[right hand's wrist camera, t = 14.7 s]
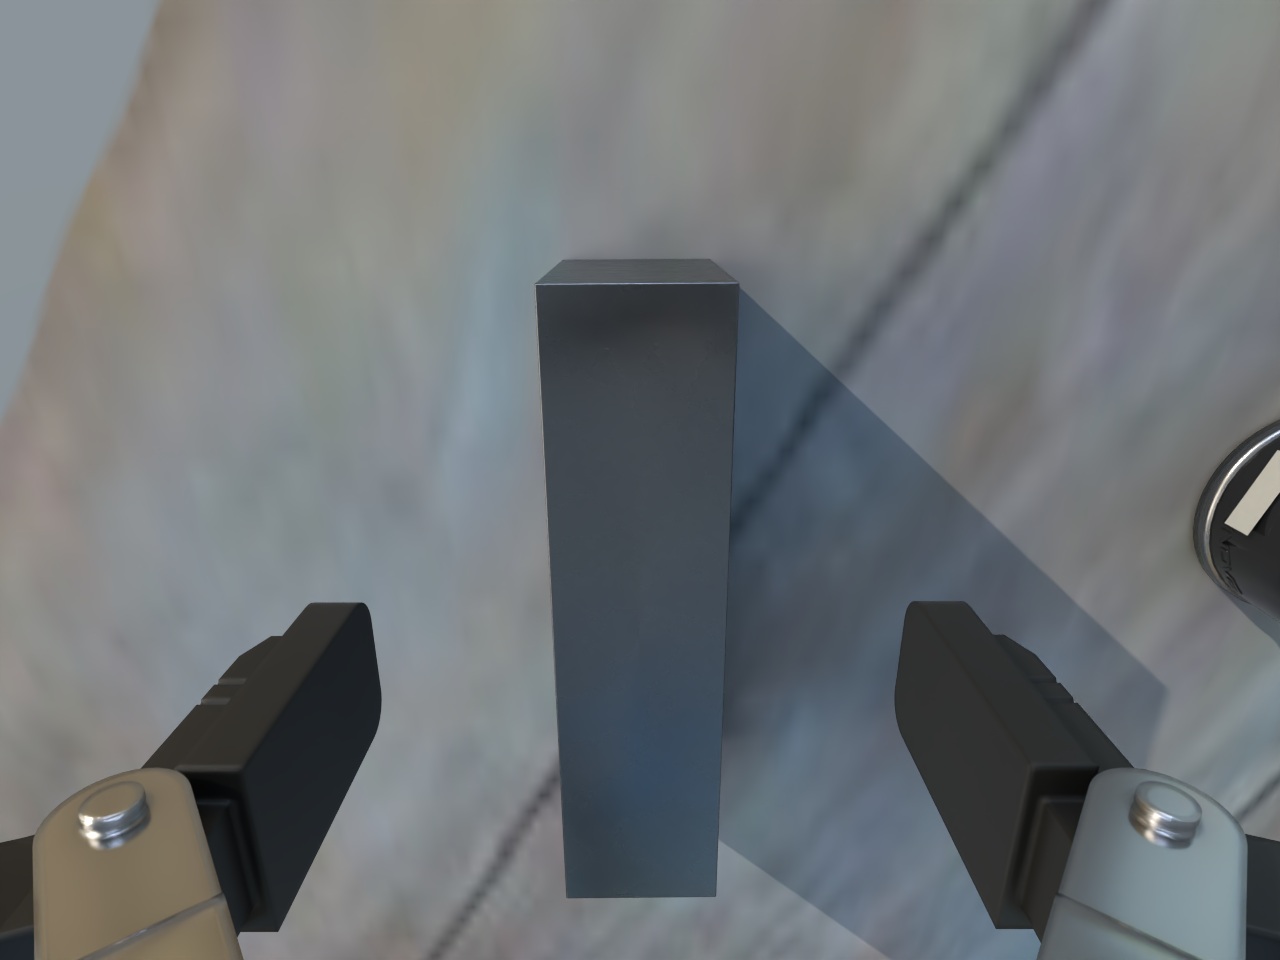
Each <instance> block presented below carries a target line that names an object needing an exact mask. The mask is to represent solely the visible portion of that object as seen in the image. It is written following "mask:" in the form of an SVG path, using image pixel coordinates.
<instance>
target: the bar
mask: <svg viewBox="0 0 1280 960" xmlns="http://www.w3.org/2000/svg"><path fill="white" fill-rule="evenodd" d="M534 288H535V307H536V326H537V345H538V364H539V383H540V402H541V421H542V440H543V460H544V479H545V498H546V517H547V536H548V555H549V574H550V593H551V612H552V631H553V650H554V669H555V688H556V708H557V727H558V746H559V765H560V784H561V803H562V822H563V841H564V860H565V879H566V897H567V898H639V897H715V896H716V884H717V857H718V831H719V805H720V778H721V752H722V726H723V699H724V673H725V647H726V620H727V594H728V567H729V541H730V515H731V488H732V462H733V436H734V409H735V383H736V357H737V330H738V304H739V282H737V281H736V280H735V279H734V278H733V277H731V276H730V275H729V274H728V273H726V272H725V271H724V270H723V269H721V268H720V267H719V266H718V265H716V264H715V263H714V262H713V261H712V260H710V259H634V260H562V261H561V262H560V263H559V264H558V265H556V266H555V267H554V268H553V269H552V270H551V271H549V272H548V273H547V274H546V275H545V276H544V277H542V278H541V279H540V280H539V281H538V282H537V283H535V285H534Z"/></svg>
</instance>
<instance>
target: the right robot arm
mask: <svg viewBox="0 0 1280 960" xmlns="http://www.w3.org/2000/svg"><path fill="white" fill-rule="evenodd" d="M1193 539H1194V546H1195V550H1196V554H1197V557H1198V559H1199V562H1200V564H1201V566H1202V567H1203V569H1204V570H1205V572H1206V573H1207V575H1208V576H1209V577H1210V578H1211V579H1212V580H1213V581H1214V582H1215V583H1217V584H1218V585H1219V586H1220V587H1222V588H1223V589H1225V590H1226V591H1228V592H1229V593H1231V594H1232V595H1234V596H1236V597H1237V598H1239V599H1240V600H1242V601H1244V602H1247V603H1249V604H1252V605H1253V606H1255V607H1256V608H1258V609H1259V610H1261V611H1263V612H1264V613H1266V614H1267V615H1269V616H1270V617H1272V618H1273V619H1275V620H1276V621H1278V622H1279V623H1280V420H1279V421H1276V422H1274V423H1272V424H1270V425H1268V426H1266V427H1265V428H1263V429H1261V430H1260V431H1258V432H1256V433H1255V434H1253V435H1252V436H1251V437H1249V438H1248V439H1246V440H1245V441H1244V442H1243V443H1241V444H1240V445H1239V446H1238V447H1237V448H1236V449H1235V450H1234V451H1232V452H1231V453H1230V454H1229V455H1228V456H1227V458H1226V459H1225V460H1224V461H1223V462H1222V463H1221V464H1220V466H1219V467H1218V468H1217V470H1216V471H1215V472H1214V474H1213V475H1212V477H1211V478H1210V480H1209V481H1208V483H1207V485H1206V487H1205V489H1204V491H1203V493H1202V495H1201V498H1200V500H1199V503H1198V506H1197V509H1196V513H1195V518H1194V526H1193ZM895 712H896V718H897V723H898V727H899V730H900V733H901V735H902V737H903V739H904V741H905V744H906V746H907V748H908V750H909V752H910V754H911V756H912V758H913V760H914V762H915V764H916V766H917V768H918V770H919V772H920V774H921V776H922V778H923V780H924V782H925V784H926V787H927V789H928V791H929V793H930V795H931V797H932V799H933V801H934V803H935V805H936V807H937V809H938V811H939V813H940V815H941V817H942V819H943V821H944V823H945V825H946V827H947V830H948V832H949V834H950V836H951V838H952V840H953V842H954V844H955V846H956V848H957V850H958V852H959V854H960V856H961V858H962V860H963V862H964V864H965V866H966V868H967V871H968V873H969V875H970V877H971V879H972V881H973V883H974V885H975V887H976V889H977V891H978V893H979V895H980V897H981V899H982V901H983V903H984V905H985V907H986V909H987V911H988V914H989V916H990V918H991V920H992V922H993V924H994V926H995V928H996V929H1034V931H1035V933H1036V935H1037V936H1038V938H1039V940H1040V942H1041V946H1040V949H1039V953H1038V956H1037V960H1280V842H1279V841H1274V840H1270V839H1265V838H1261V837H1256V836H1252V835H1247V834H1244V831H1243V829H1242V828H1241V826H1240V825H1239V823H1238V822H1237V820H1236V819H1235V818H1234V817H1233V816H1232V815H1231V814H1230V813H1229V812H1228V811H1227V810H1226V809H1225V808H1224V807H1223V806H1222V805H1220V804H1219V803H1218V802H1217V801H1215V800H1214V799H1212V798H1211V797H1210V796H1208V795H1207V794H1205V793H1203V792H1202V791H1200V790H1198V789H1197V788H1195V787H1193V786H1191V785H1189V784H1187V783H1185V782H1182V781H1180V780H1178V779H1175V778H1173V777H1170V776H1167V775H1164V774H1161V773H1157V772H1153V771H1149V770H1144V769H1137V768H1134V767H1133V766H1132V765H1131V764H1130V763H1129V761H1128V760H1127V759H1126V758H1125V757H1124V756H1123V755H1122V753H1121V752H1120V751H1119V750H1118V749H1117V748H1116V746H1115V745H1114V744H1113V743H1112V742H1111V741H1110V740H1109V738H1108V737H1107V736H1106V735H1105V734H1104V733H1103V732H1102V730H1101V729H1100V728H1099V727H1098V726H1097V725H1096V723H1095V722H1094V721H1093V720H1092V719H1091V718H1090V717H1089V715H1088V714H1087V713H1086V712H1085V711H1084V710H1083V709H1082V707H1081V706H1080V705H1079V704H1078V703H1074V702H1073V697H1072V696H1071V695H1070V694H1069V692H1068V691H1067V690H1066V689H1065V688H1064V687H1063V686H1062V684H1061V683H1057V682H1056V677H1055V676H1054V675H1053V674H1052V673H1051V672H1050V671H1049V669H1048V668H1047V667H1046V666H1045V665H1044V664H1043V663H1042V661H1041V660H1040V659H1039V658H1038V657H1037V656H1036V655H1035V654H1034V653H1032V652H1030V651H1029V650H1027V649H1026V648H1024V647H1023V646H1021V645H1019V644H1018V643H1016V642H1015V641H1013V640H1011V639H1010V638H1008V637H1007V636H1005V635H993V634H992V633H991V632H990V631H989V629H988V628H987V627H986V626H985V624H984V623H983V622H982V621H981V619H980V618H979V617H978V616H977V614H976V613H975V612H974V611H973V610H972V608H971V607H970V606H969V605H968V604H967V603H966V602H963V601H914V602H911V603H910V604H909V606H908V608H907V611H906V614H905V620H904V628H903V635H902V642H901V650H900V657H899V664H898V672H897V679H896V686H895ZM380 714H381V687H380V680H379V672H378V665H377V658H376V651H375V644H374V636H373V629H372V622H371V616H370V612H369V609H368V607H367V606H366V605H365V604H364V603H310V604H309V605H308V606H307V607H306V608H305V609H304V610H303V611H302V613H301V614H300V615H299V616H298V618H297V619H296V620H295V621H294V622H293V624H292V625H291V626H290V627H289V628H288V630H287V631H286V632H285V633H284V635H283V636H271V637H269V638H268V639H266V640H265V641H263V642H261V643H260V644H258V645H257V646H255V647H253V648H252V649H250V650H249V651H247V652H245V653H244V654H242V655H241V656H239V657H238V658H237V660H236V661H235V662H234V663H233V664H232V665H231V666H230V667H229V669H228V670H227V671H226V672H225V673H224V674H223V675H222V677H221V678H220V679H219V683H218V685H214V686H213V687H212V688H211V689H210V690H209V691H208V693H207V694H206V695H205V696H204V697H203V698H202V699H201V705H196V706H195V707H194V709H193V710H192V711H191V712H190V713H189V714H188V715H187V716H186V718H185V719H184V720H183V721H182V722H181V723H180V724H179V726H178V727H177V728H176V729H175V730H174V731H173V732H172V734H171V735H170V736H169V737H168V738H167V739H166V740H165V742H164V743H163V744H162V745H161V746H160V747H159V748H158V750H157V751H156V752H155V753H154V754H153V755H152V756H151V758H150V759H149V760H148V761H147V762H146V763H145V764H144V765H143V767H142V768H141V769H136V770H131V771H127V772H123V773H119V774H116V775H113V776H110V777H107V778H105V779H102V780H100V781H98V782H95V783H93V784H91V785H89V786H87V787H85V788H83V789H82V790H80V791H78V792H77V793H75V794H73V795H72V796H70V797H69V798H68V799H66V800H65V801H63V802H62V803H61V804H60V805H58V806H57V807H56V808H55V809H54V810H53V811H52V812H51V813H50V814H49V815H48V816H47V817H46V818H45V819H44V820H43V822H42V823H41V825H40V826H39V828H38V829H37V831H36V834H35V835H32V836H28V837H25V838H20V839H16V840H11V841H7V842H2V843H0V960H243V956H242V953H241V949H240V946H239V943H238V939H237V937H238V935H239V933H240V932H278V931H279V929H280V927H281V925H282V923H283V921H284V919H285V917H286V915H287V913H288V911H289V909H290V907H291V905H292V903H293V901H294V899H295V897H296V895H297V893H298V891H299V889H300V887H301V885H302V883H303V881H304V879H305V877H306V874H307V872H308V870H309V868H310V866H311V864H312V862H313V860H314V858H315V856H316V854H317V852H318V850H319V848H320V846H321V844H322V842H323V840H324V838H325V836H326V834H327V832H328V830H329V828H330V826H331V824H332V822H333V820H334V818H335V816H336V814H337V812H338V810H339V808H340V806H341V804H342V802H343V800H344V798H345V796H346V794H347V792H348V790H349V788H350V785H351V783H352V781H353V779H354V777H355V775H356V773H357V771H358V769H359V767H360V765H361V763H362V761H363V759H364V757H365V755H366V753H367V751H368V749H369V747H370V745H371V743H372V741H373V739H374V737H375V734H376V732H377V729H378V725H379V720H380Z"/></svg>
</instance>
